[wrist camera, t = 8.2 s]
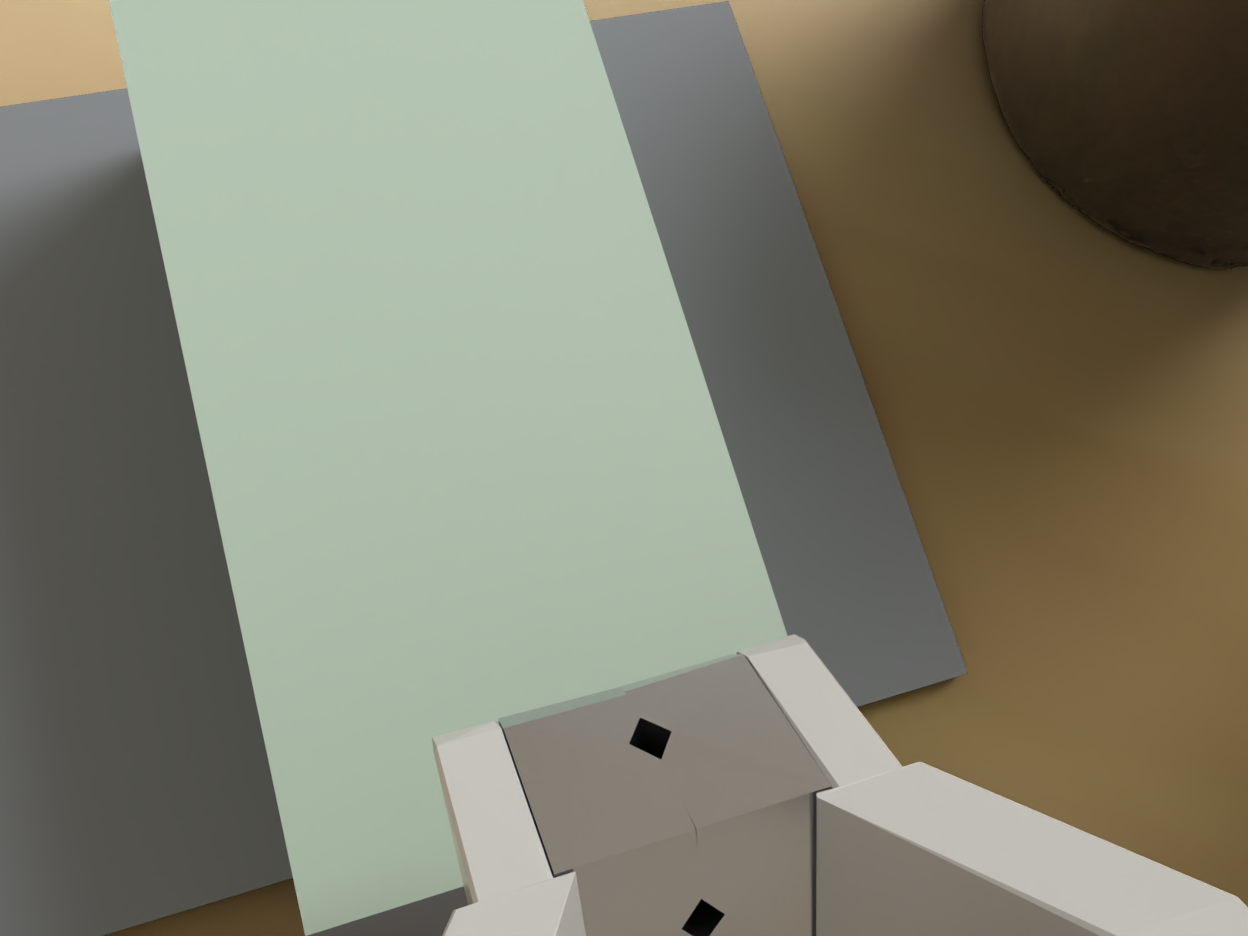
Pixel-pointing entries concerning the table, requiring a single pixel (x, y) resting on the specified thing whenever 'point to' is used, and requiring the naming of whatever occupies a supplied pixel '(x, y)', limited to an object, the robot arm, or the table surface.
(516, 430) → the sage block
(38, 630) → the mat
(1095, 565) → the table surface
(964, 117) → the table surface
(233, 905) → the table surface
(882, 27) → the table surface
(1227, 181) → the pillar candle
